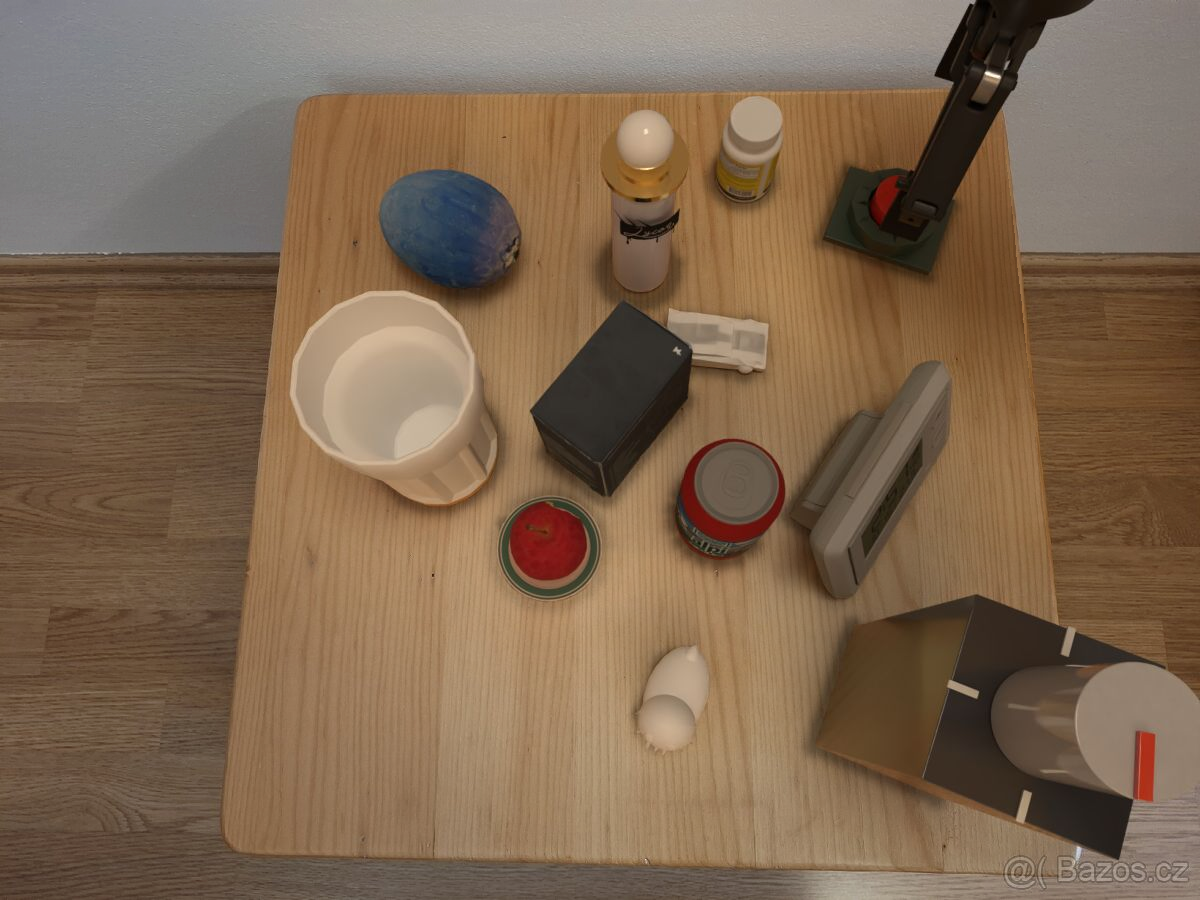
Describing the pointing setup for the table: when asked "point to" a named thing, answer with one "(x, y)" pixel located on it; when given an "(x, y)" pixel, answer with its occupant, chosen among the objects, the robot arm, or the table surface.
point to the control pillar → (964, 713)
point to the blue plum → (450, 228)
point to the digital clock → (874, 477)
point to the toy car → (722, 340)
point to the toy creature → (674, 699)
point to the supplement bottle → (749, 149)
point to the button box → (862, 231)
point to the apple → (549, 548)
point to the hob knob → (1102, 728)
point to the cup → (397, 396)
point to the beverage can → (728, 498)
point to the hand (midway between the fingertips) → (926, 153)
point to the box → (614, 397)
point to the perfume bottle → (643, 196)
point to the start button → (883, 198)
